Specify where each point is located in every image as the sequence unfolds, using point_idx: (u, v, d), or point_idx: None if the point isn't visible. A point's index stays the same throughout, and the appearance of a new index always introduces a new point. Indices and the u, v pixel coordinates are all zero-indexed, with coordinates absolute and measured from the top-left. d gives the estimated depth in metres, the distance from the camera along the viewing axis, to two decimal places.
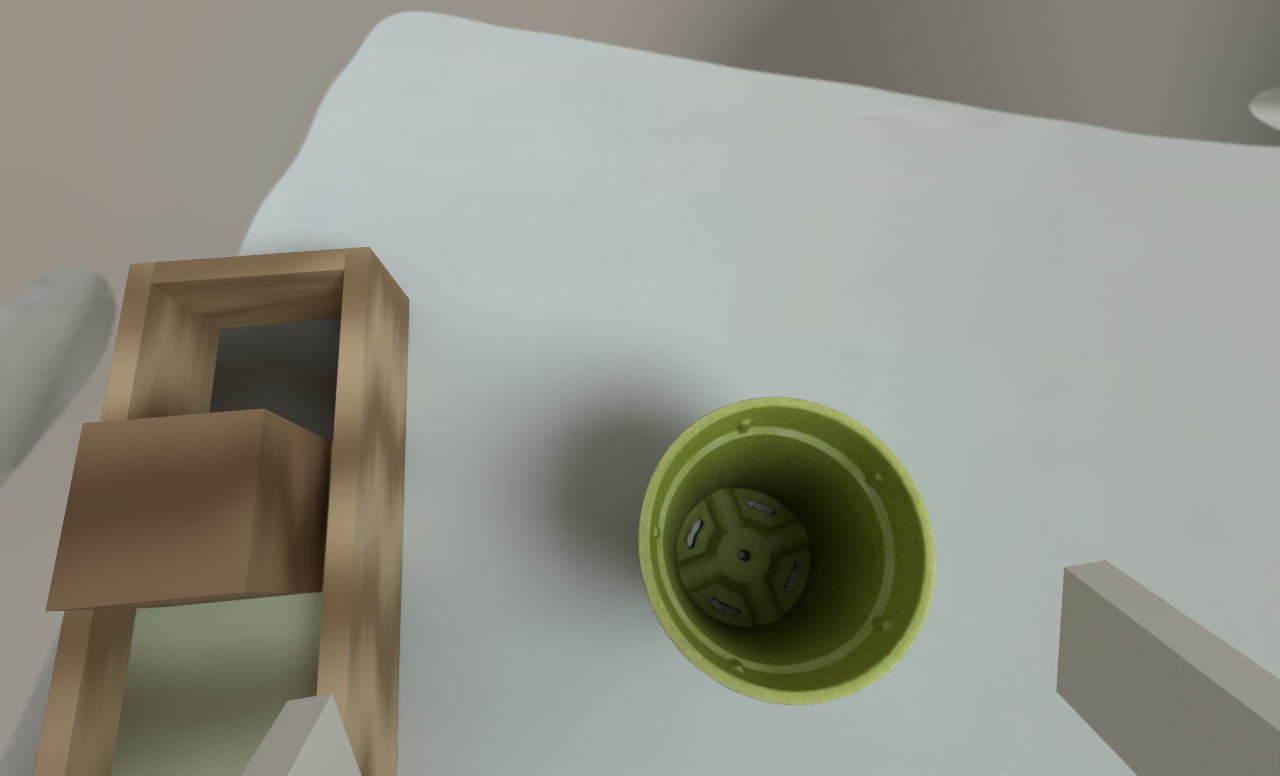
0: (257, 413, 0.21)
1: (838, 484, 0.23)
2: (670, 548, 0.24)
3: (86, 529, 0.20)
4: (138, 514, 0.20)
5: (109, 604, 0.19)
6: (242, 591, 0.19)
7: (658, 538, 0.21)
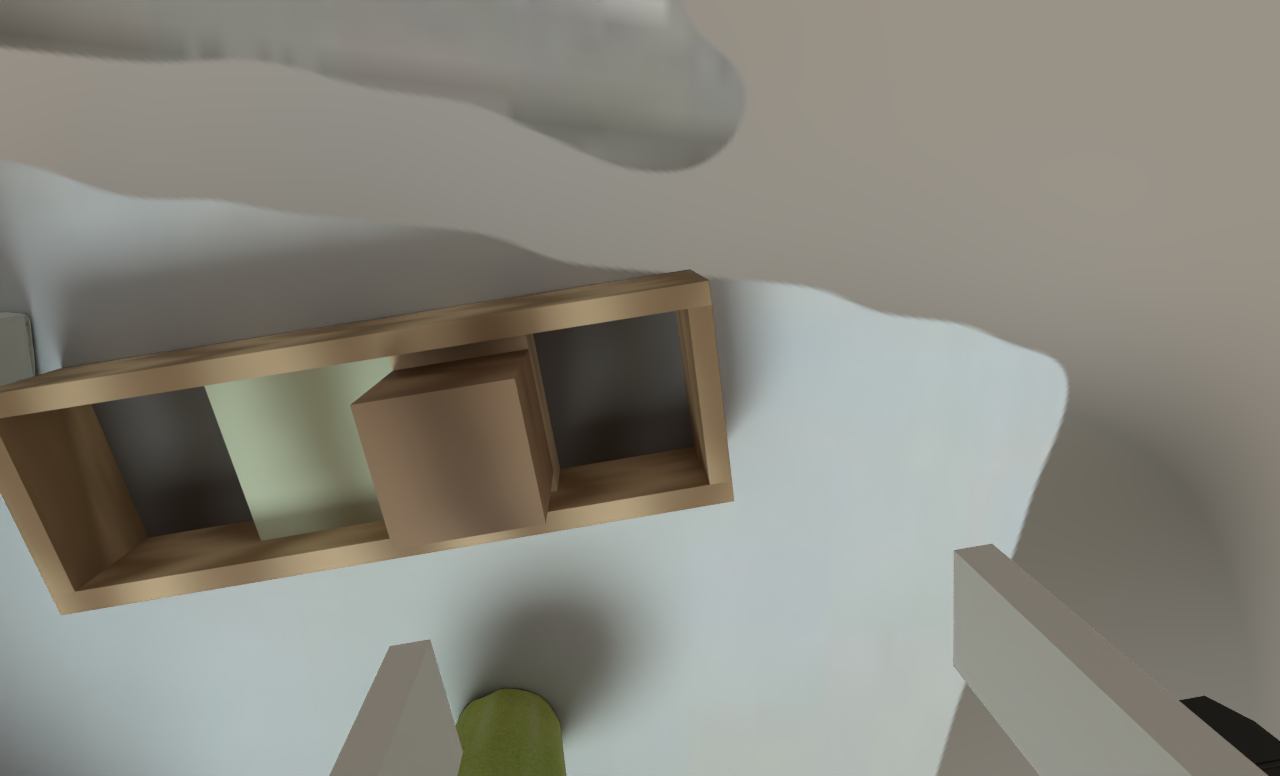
0: (540, 520, 0.24)
1: None
2: (494, 732, 0.32)
3: (421, 413, 0.22)
4: (440, 451, 0.23)
5: (365, 450, 0.23)
6: (393, 548, 0.24)
7: None
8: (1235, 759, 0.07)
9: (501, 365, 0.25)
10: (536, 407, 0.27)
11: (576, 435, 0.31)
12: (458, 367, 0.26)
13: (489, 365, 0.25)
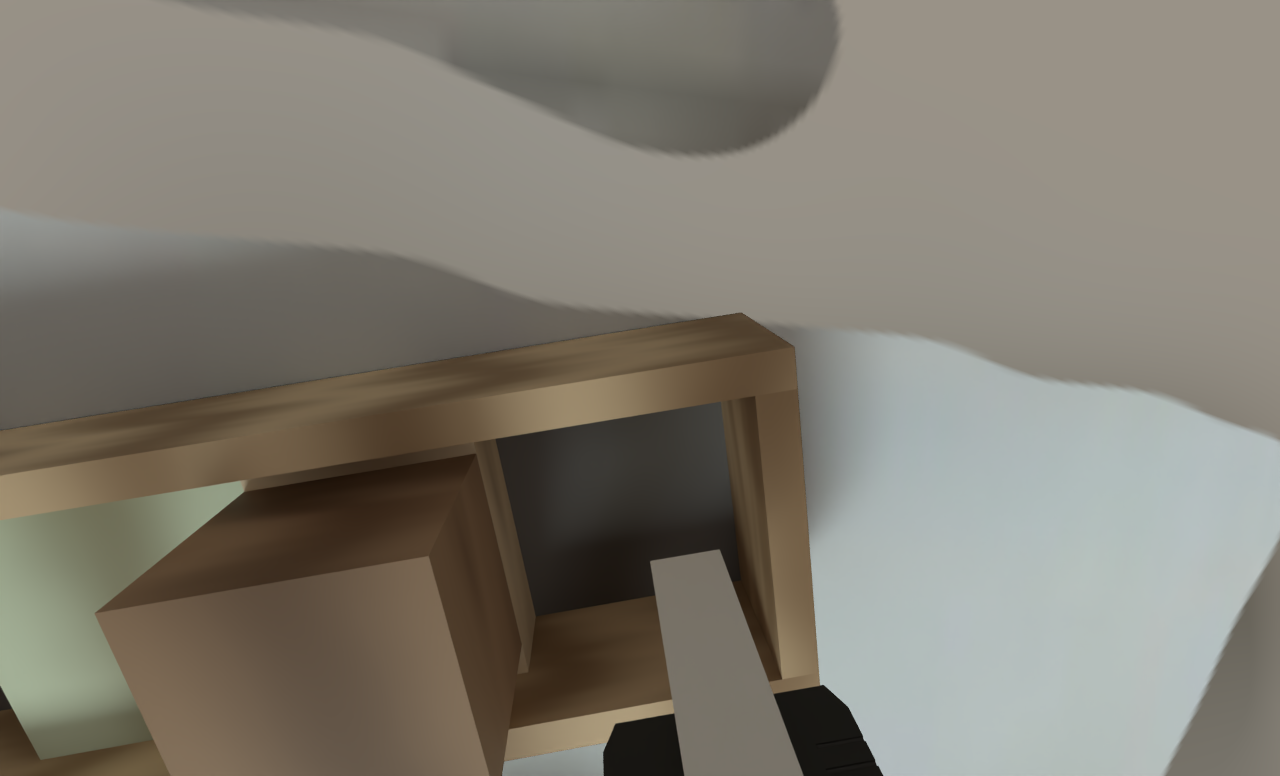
0: None
1: None
2: None
3: (244, 624, 0.11)
4: (287, 691, 0.12)
5: (137, 691, 0.12)
6: None
7: None
8: (777, 737, 0.08)
9: (418, 501, 0.14)
10: (488, 556, 0.16)
11: (560, 567, 0.20)
12: (347, 497, 0.14)
13: (398, 499, 0.14)
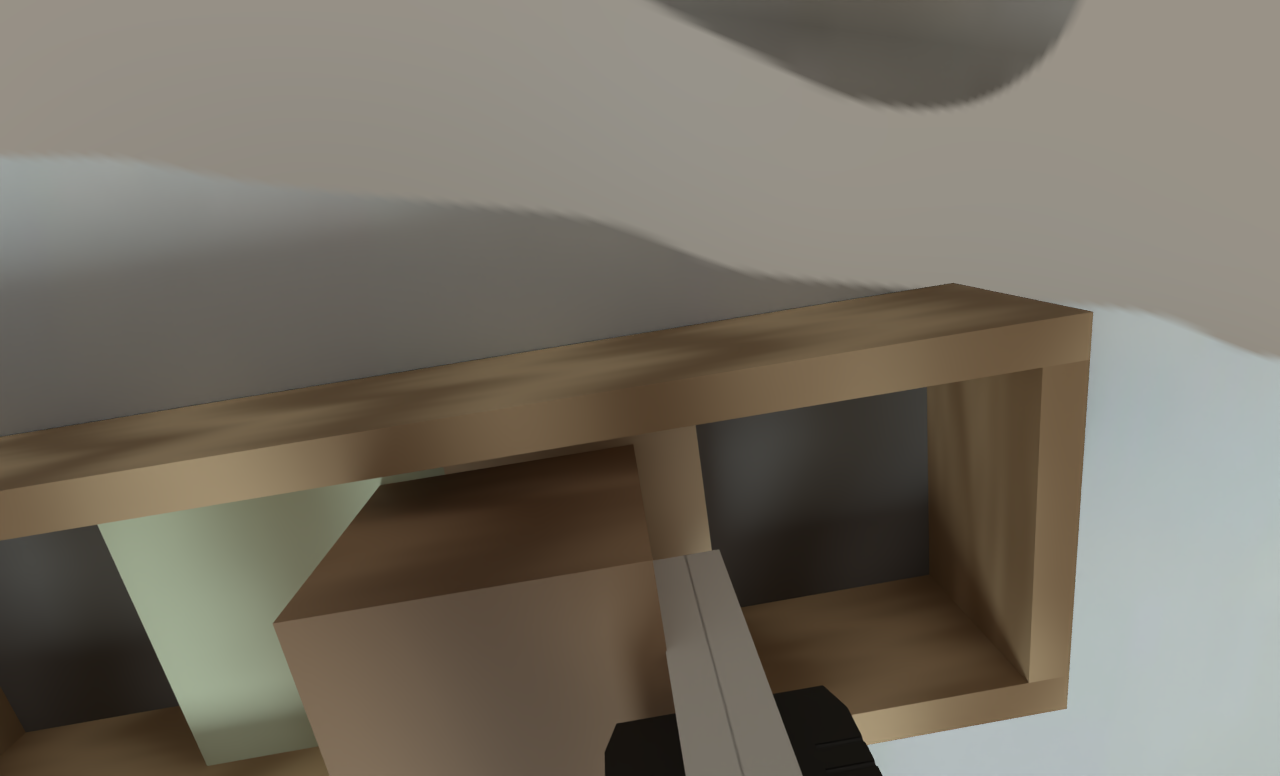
0: None
1: None
2: None
3: (439, 637, 0.10)
4: (480, 712, 0.10)
5: None
6: None
7: None
8: (776, 737, 0.08)
9: (599, 497, 0.12)
10: None
11: (741, 560, 0.19)
12: (507, 491, 0.13)
13: (572, 494, 0.12)
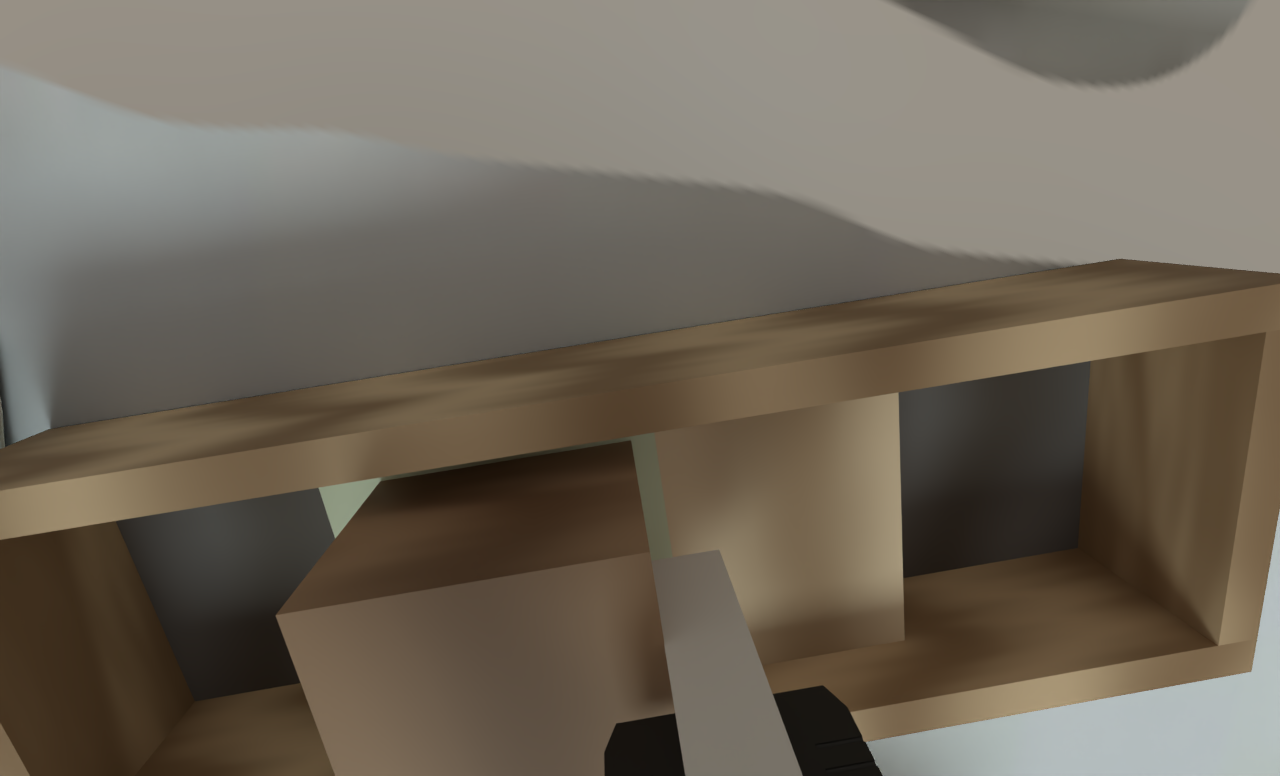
0: None
1: None
2: None
3: (439, 628, 0.10)
4: (479, 703, 0.10)
5: (313, 702, 0.10)
6: None
7: None
8: (777, 737, 0.08)
9: (597, 491, 0.12)
10: None
11: None
12: (506, 486, 0.13)
13: (570, 488, 0.13)
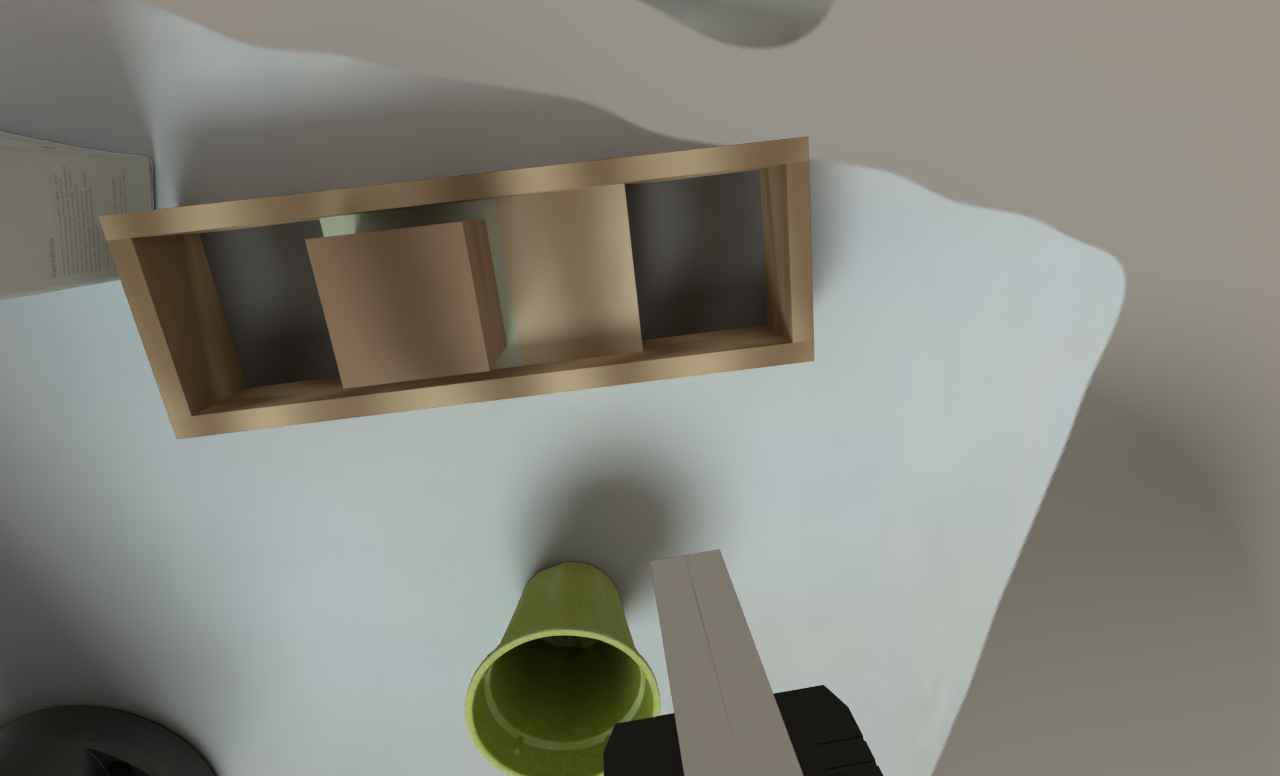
0: (484, 367, 0.25)
1: (610, 706, 0.34)
2: (566, 590, 0.34)
3: (373, 252, 0.24)
4: (390, 291, 0.24)
5: (318, 286, 0.24)
6: (343, 386, 0.25)
7: None
8: (777, 737, 0.08)
9: None
10: (490, 273, 0.28)
11: (657, 307, 0.33)
12: None
13: None
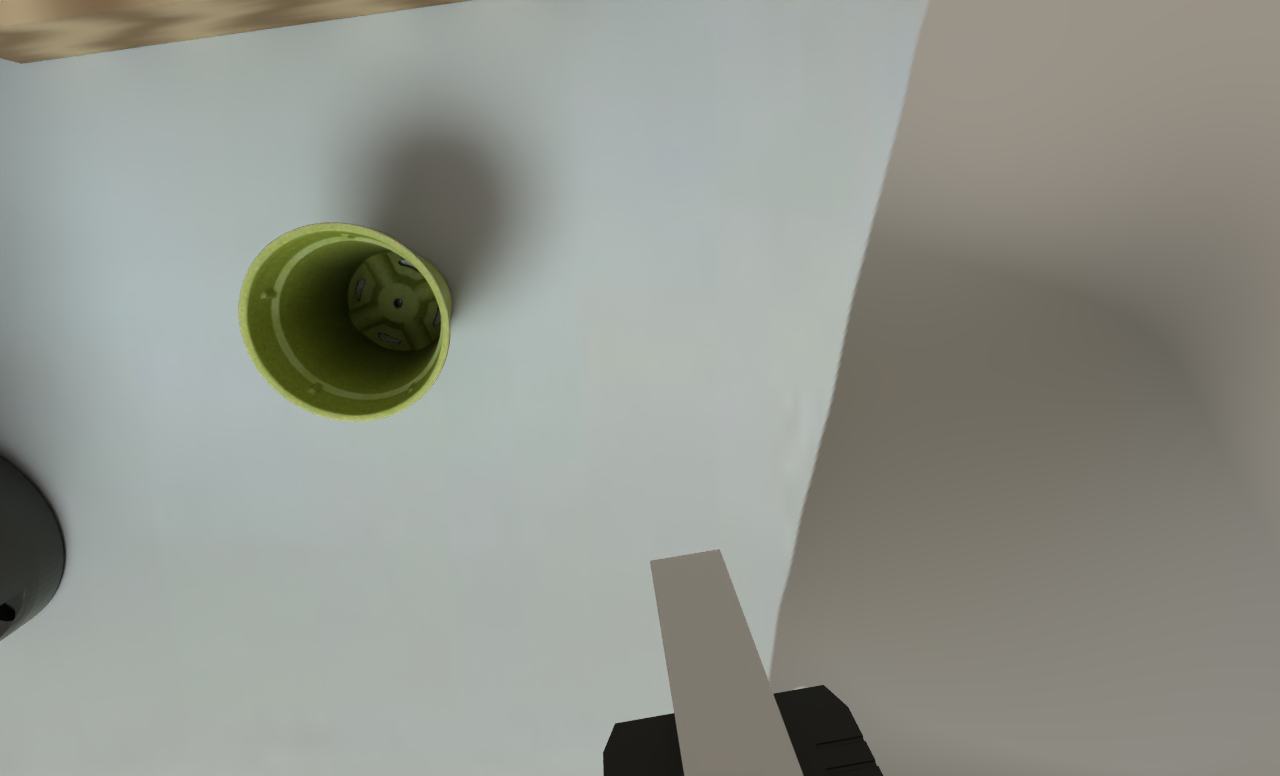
0: None
1: (422, 366, 0.32)
2: (371, 246, 0.32)
3: None
4: None
5: None
6: None
7: (346, 237, 0.29)
8: (777, 737, 0.08)
9: None
10: None
11: None
12: None
13: None
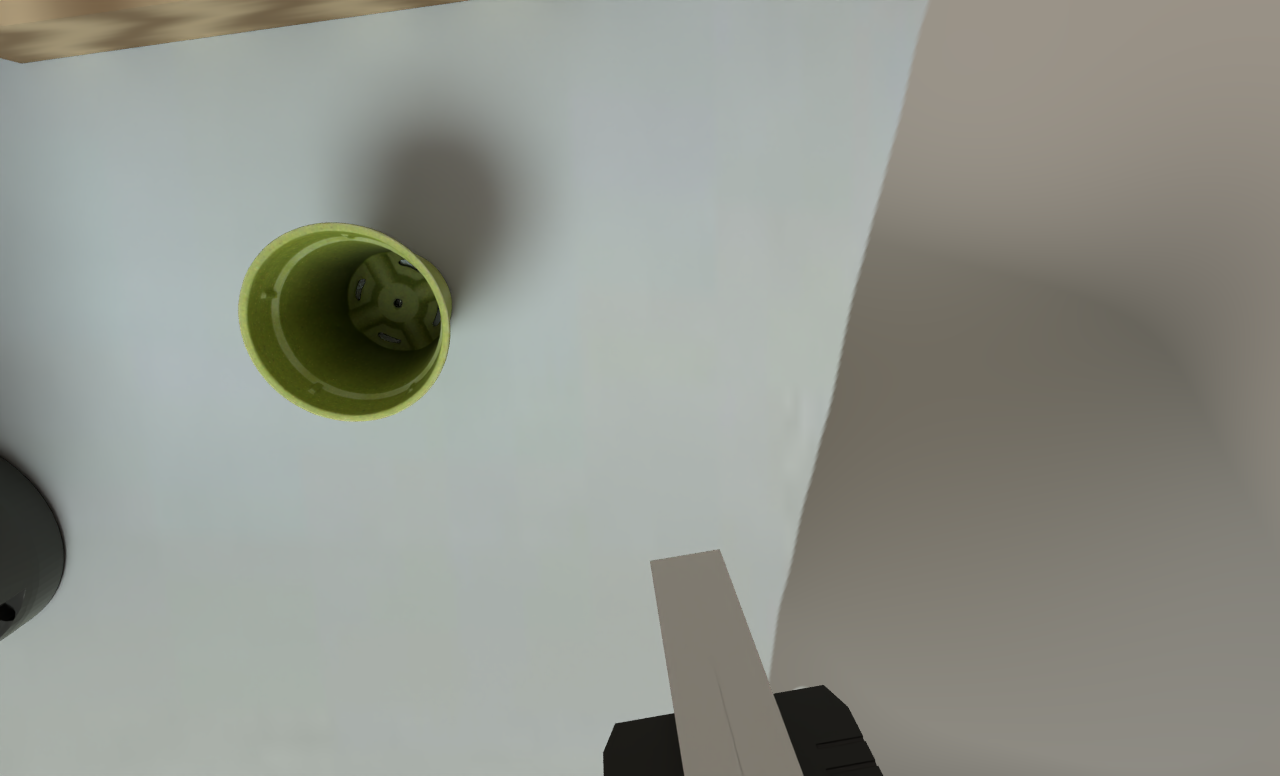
0: None
1: (422, 366, 0.32)
2: (370, 246, 0.32)
3: None
4: None
5: None
6: None
7: (346, 237, 0.29)
8: (777, 737, 0.08)
9: None
10: None
11: None
12: None
13: None
